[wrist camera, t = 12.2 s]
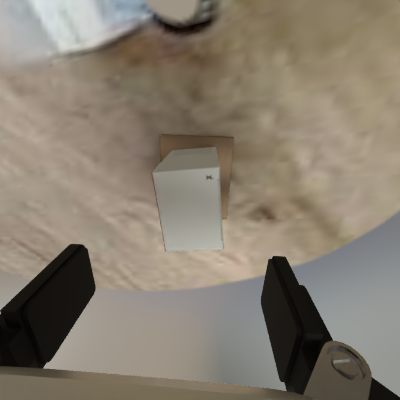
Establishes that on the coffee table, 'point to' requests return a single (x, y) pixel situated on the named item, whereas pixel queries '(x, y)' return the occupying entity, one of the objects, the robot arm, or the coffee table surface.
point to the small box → (190, 199)
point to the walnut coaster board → (221, 143)
